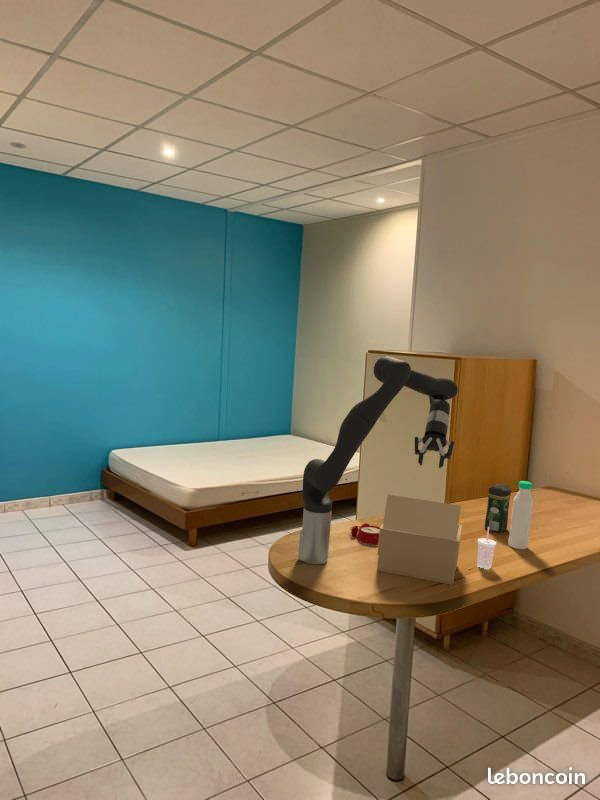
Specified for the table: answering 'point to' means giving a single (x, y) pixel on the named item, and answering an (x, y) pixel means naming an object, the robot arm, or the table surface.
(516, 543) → the water bottle
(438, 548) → the carton
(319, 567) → the table surface
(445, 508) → the carton flap
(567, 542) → the table surface
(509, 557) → the table surface
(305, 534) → the robot arm
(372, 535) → the alarm clock
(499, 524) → the coffee jar
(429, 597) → the table surface
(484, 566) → the beverage cup
